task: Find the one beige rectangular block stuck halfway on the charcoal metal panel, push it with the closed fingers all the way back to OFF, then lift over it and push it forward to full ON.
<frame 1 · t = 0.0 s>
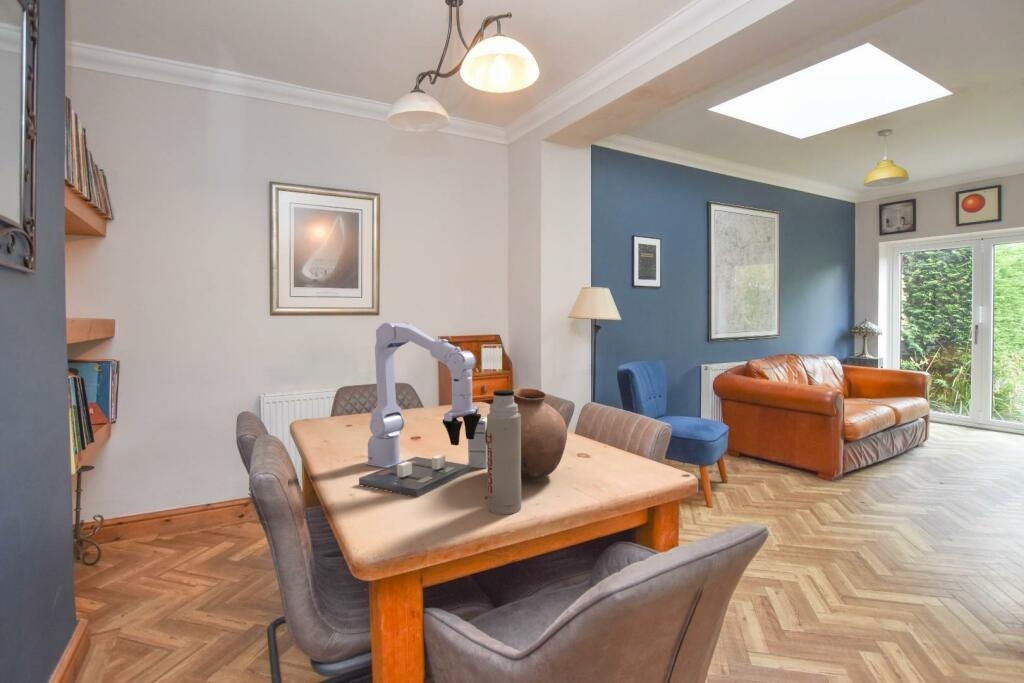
hand: (462, 441, 144), 10 cm above the table, tool pointing down, fingers open, 7 cm apart
pottery: (526, 478, 144), on the table
beige rectangular block: (404, 469, 139), point 4 cm above the table, slide at 4.0 cm
thermos bottle: (504, 508, 121), on the table
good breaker: (438, 461, 146), point 4 cm above the table, slide at 8.0 cm
syrup box: (479, 466, 156), on the table
breaker panel: (416, 478, 144), on the table
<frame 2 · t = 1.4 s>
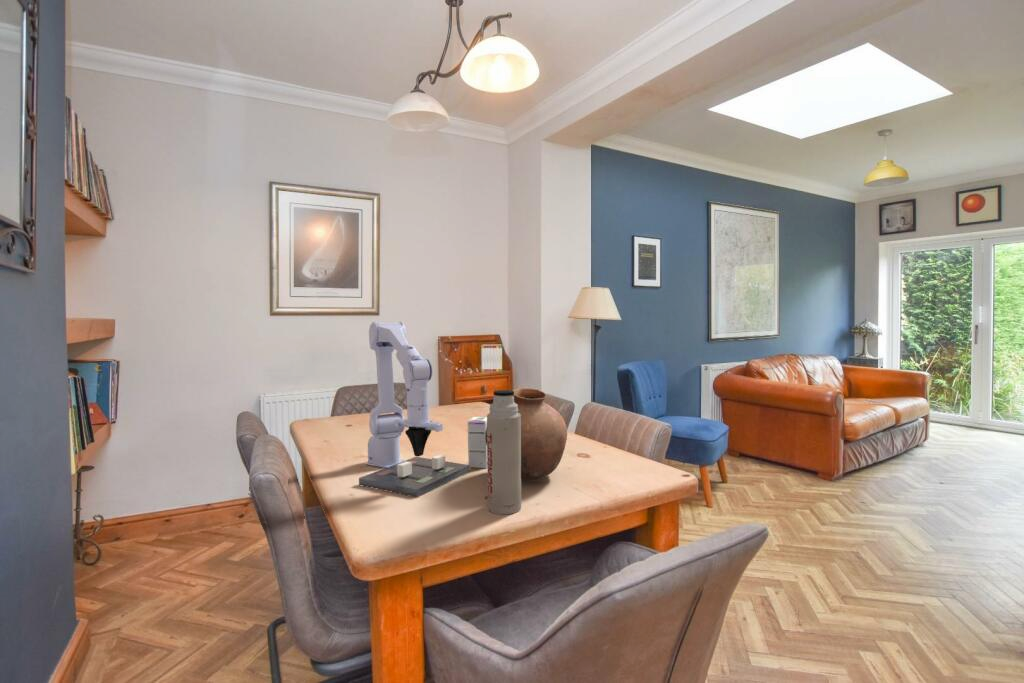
hand: (418, 455, 137), 8 cm above the table, tool pointing down, fingers closed
nothing on the table moved.
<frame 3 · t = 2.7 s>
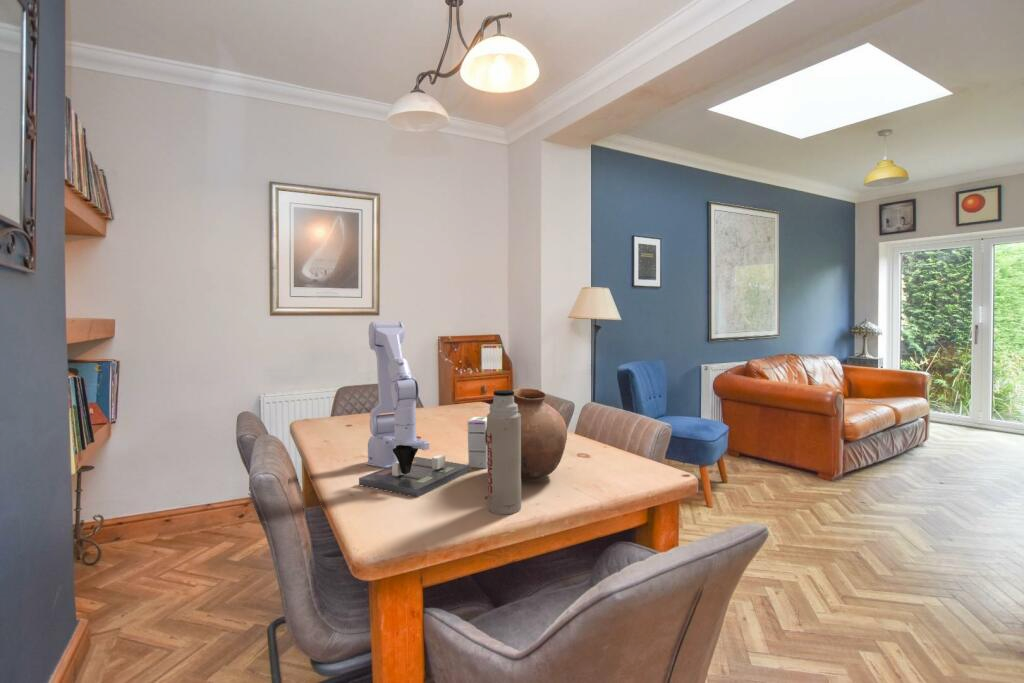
hand: (406, 472, 139), 3 cm above the table, tool pointing down, fingers closed
beige rectangular block: (399, 468, 140), point 4 cm above the table, slide at 2.1 cm, touching gripper
everything else where it was.
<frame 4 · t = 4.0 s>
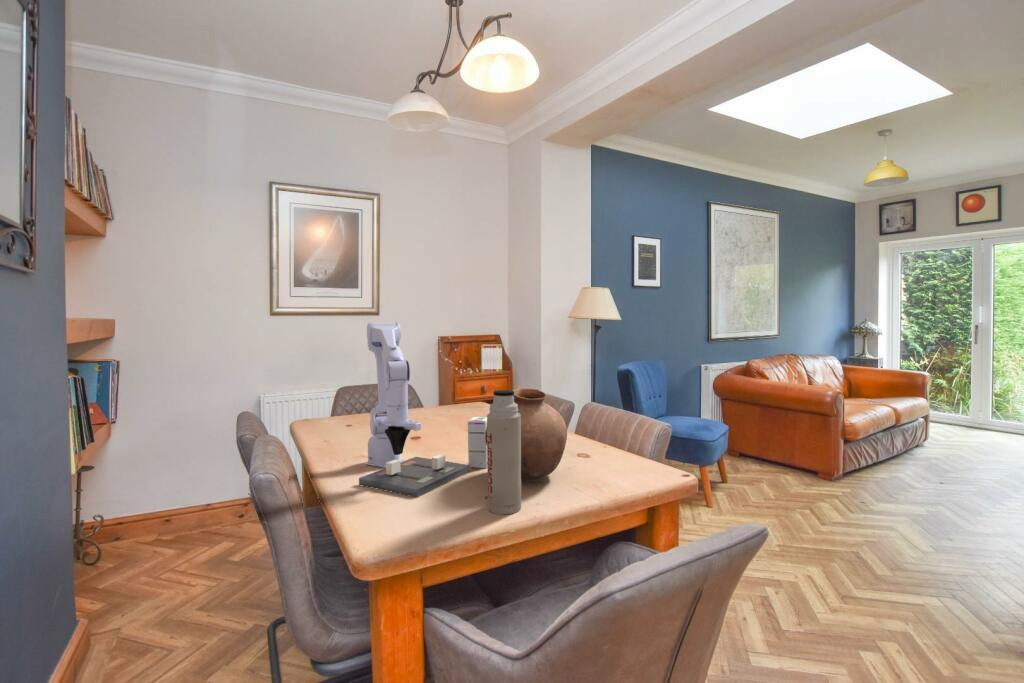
hand: (398, 453, 140), 8 cm above the table, tool pointing down, fingers closed
beige rectangular block: (393, 467, 141), point 4 cm above the table, slide at -0.1 cm
everything else where it was.
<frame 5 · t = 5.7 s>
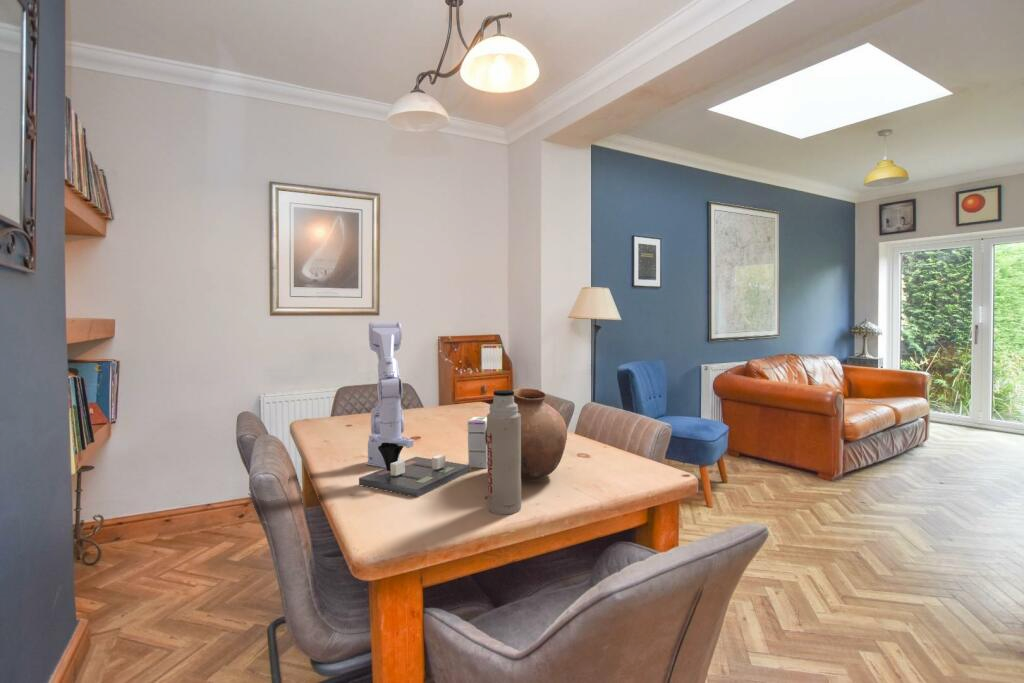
hand: (391, 470, 141), 3 cm above the table, tool pointing down, fingers closed
beige rectangular block: (397, 467, 140), point 4 cm above the table, slide at 1.6 cm, touching gripper
everything else where it was.
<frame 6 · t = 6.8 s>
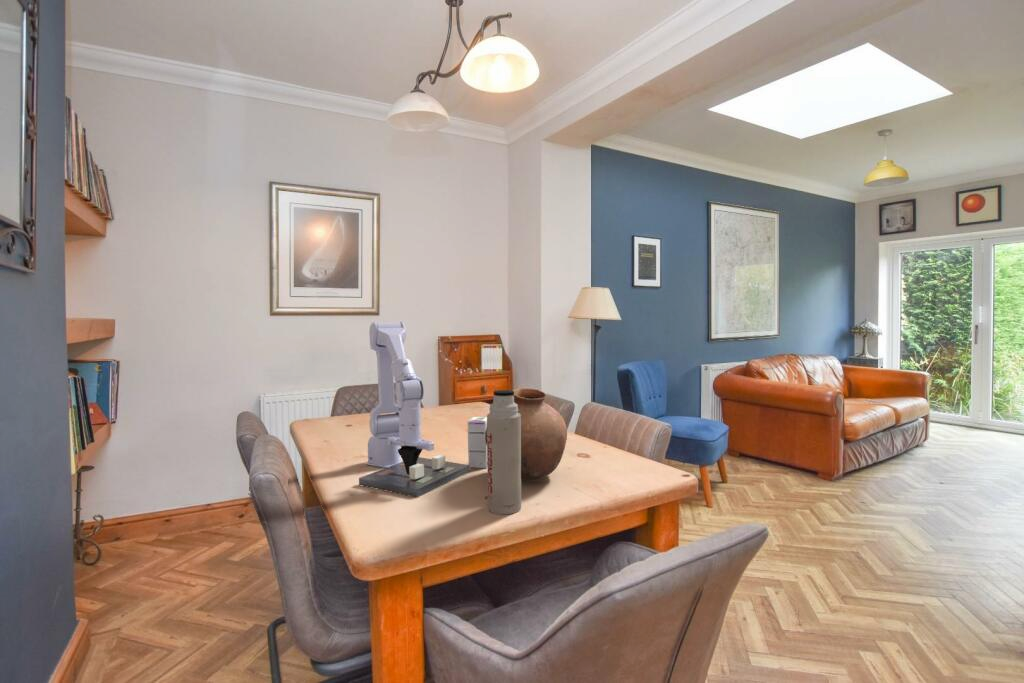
hand: (410, 473, 138), 3 cm above the table, tool pointing down, fingers closed
beige rectangular block: (416, 471, 137), point 4 cm above the table, slide at 8.2 cm, touching gripper
everything else where it was.
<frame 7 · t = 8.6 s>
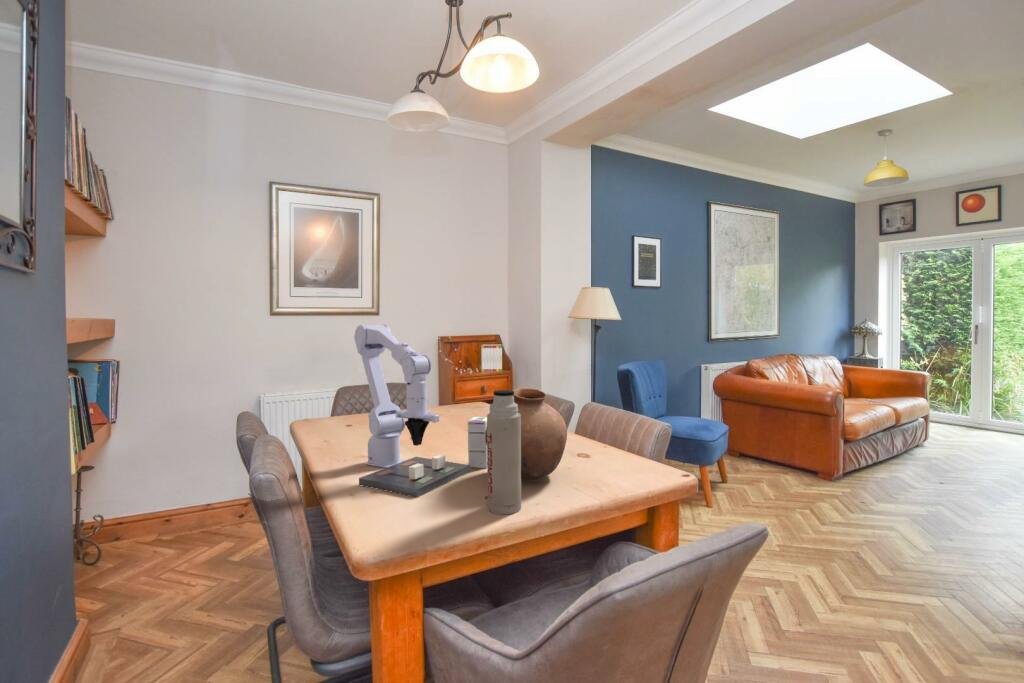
hand: (417, 444, 146), 9 cm above the table, tool pointing down, fingers closed
beige rectangular block: (416, 471, 137), point 4 cm above the table, slide at 8.1 cm
everything else where it was.
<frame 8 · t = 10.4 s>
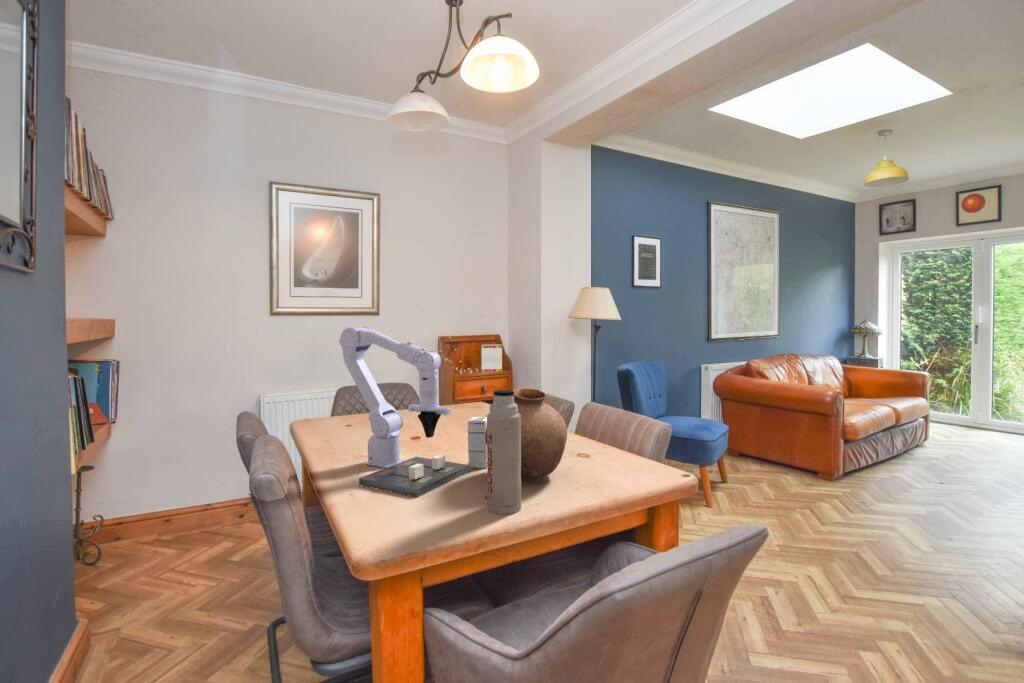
hand: (429, 436, 153), 9 cm above the table, tool pointing down, fingers closed
nothing on the table moved.
at the end: beige rectangular block slide at 8.1 cm; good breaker slide at 8.0 cm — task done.
